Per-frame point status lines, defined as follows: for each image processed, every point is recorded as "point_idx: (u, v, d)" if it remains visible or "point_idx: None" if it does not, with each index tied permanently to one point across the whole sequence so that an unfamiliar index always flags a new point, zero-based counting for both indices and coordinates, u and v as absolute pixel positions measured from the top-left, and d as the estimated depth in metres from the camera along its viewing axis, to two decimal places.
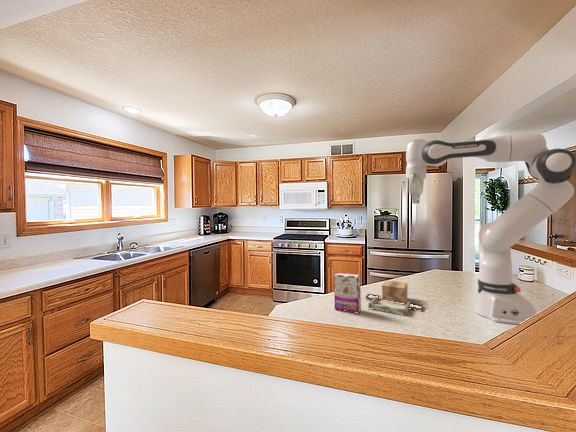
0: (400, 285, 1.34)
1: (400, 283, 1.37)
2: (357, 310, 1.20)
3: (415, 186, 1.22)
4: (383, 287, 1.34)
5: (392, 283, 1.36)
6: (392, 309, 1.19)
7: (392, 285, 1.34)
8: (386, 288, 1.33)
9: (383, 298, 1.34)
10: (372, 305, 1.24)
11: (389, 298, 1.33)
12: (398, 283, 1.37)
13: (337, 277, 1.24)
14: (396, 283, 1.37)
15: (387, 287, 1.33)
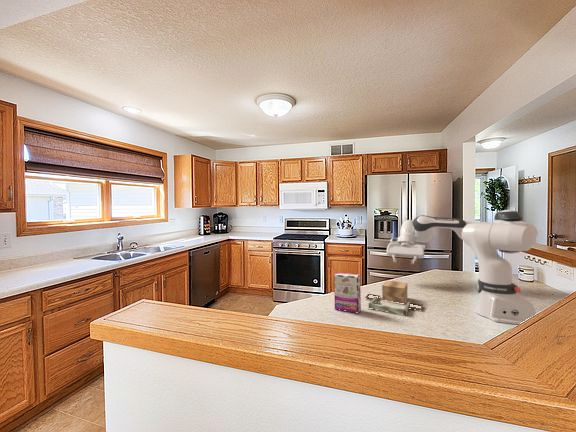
0: (400, 285, 1.34)
1: (400, 283, 1.37)
2: (357, 310, 1.20)
3: None
4: (383, 287, 1.34)
5: (392, 283, 1.36)
6: (392, 309, 1.19)
7: (392, 285, 1.34)
8: (386, 288, 1.33)
9: (383, 298, 1.34)
10: (372, 305, 1.24)
11: (389, 298, 1.33)
12: (398, 283, 1.37)
13: (337, 277, 1.24)
14: (396, 283, 1.37)
15: (387, 287, 1.33)
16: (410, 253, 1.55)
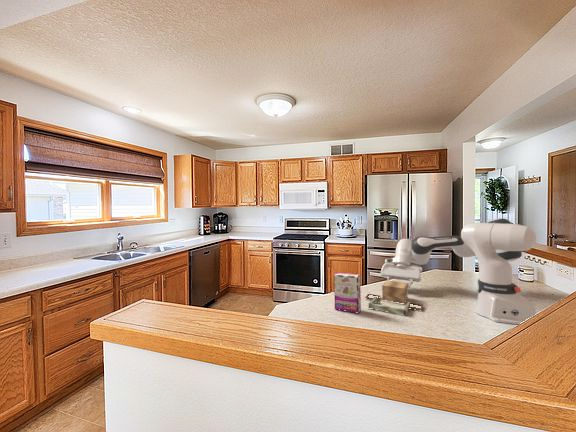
0: (400, 285, 1.34)
1: (400, 283, 1.37)
2: (357, 310, 1.20)
3: None
4: (383, 287, 1.34)
5: (392, 283, 1.36)
6: (392, 309, 1.19)
7: (392, 285, 1.34)
8: (386, 288, 1.33)
9: (383, 298, 1.34)
10: (372, 305, 1.24)
11: (389, 298, 1.33)
12: (398, 283, 1.37)
13: (337, 277, 1.24)
14: (396, 283, 1.37)
15: (387, 287, 1.33)
16: (406, 276, 1.44)
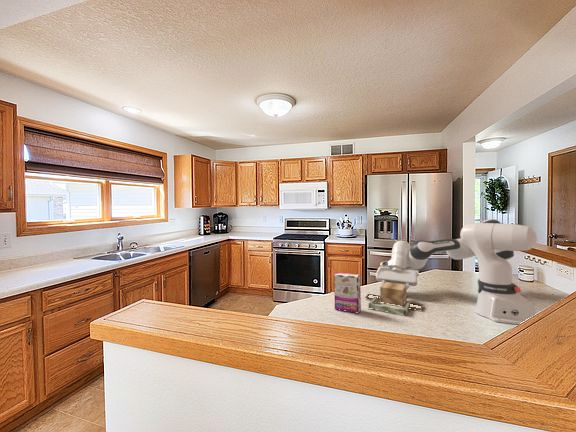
0: (399, 287, 1.31)
1: (399, 285, 1.34)
2: (357, 310, 1.20)
3: None
4: (381, 289, 1.31)
5: (390, 285, 1.33)
6: (392, 309, 1.19)
7: (391, 286, 1.31)
8: (385, 290, 1.30)
9: (381, 300, 1.31)
10: (372, 305, 1.24)
11: (388, 300, 1.30)
12: (396, 284, 1.34)
13: (337, 277, 1.24)
14: (394, 285, 1.34)
15: (385, 289, 1.30)
16: (402, 280, 1.38)
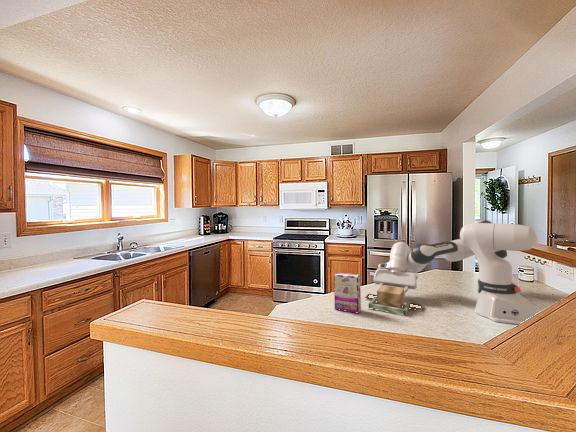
0: (396, 290, 1.25)
1: (396, 288, 1.28)
2: (357, 310, 1.20)
3: (416, 283, 1.32)
4: (378, 293, 1.26)
5: (388, 289, 1.28)
6: (392, 309, 1.19)
7: (388, 290, 1.26)
8: (381, 294, 1.25)
9: (378, 304, 1.26)
10: (372, 305, 1.24)
11: (385, 304, 1.24)
12: (394, 288, 1.29)
13: (337, 277, 1.24)
14: (392, 288, 1.29)
15: (382, 293, 1.25)
16: (400, 283, 1.33)
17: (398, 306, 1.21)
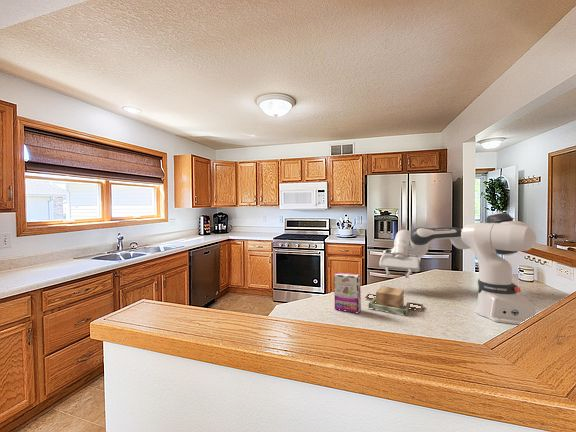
0: (396, 292, 1.24)
1: (396, 289, 1.27)
2: (357, 310, 1.20)
3: None
4: (377, 294, 1.24)
5: (387, 290, 1.27)
6: (392, 309, 1.19)
7: (387, 291, 1.24)
8: (381, 295, 1.24)
9: None
10: (372, 305, 1.24)
11: (384, 305, 1.23)
12: (393, 289, 1.27)
13: (337, 277, 1.24)
14: (391, 289, 1.27)
15: (381, 294, 1.23)
16: (404, 266, 1.44)
17: (397, 307, 1.20)
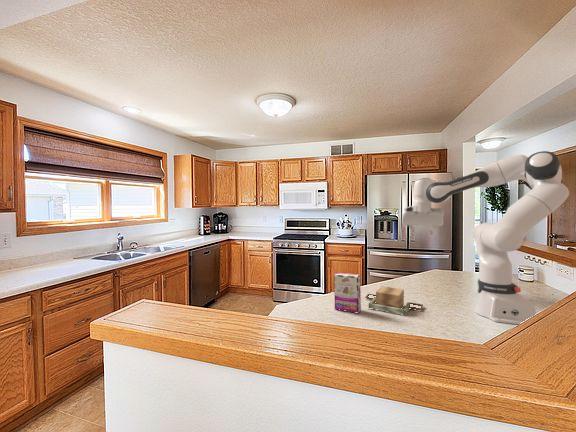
0: (396, 292, 1.24)
1: (396, 290, 1.27)
2: (357, 310, 1.20)
3: None
4: (377, 294, 1.24)
5: (387, 290, 1.27)
6: (392, 309, 1.19)
7: (387, 291, 1.24)
8: (380, 295, 1.24)
9: None
10: (372, 305, 1.24)
11: (384, 305, 1.23)
12: (393, 289, 1.27)
13: (337, 277, 1.24)
14: (391, 289, 1.27)
15: (381, 294, 1.23)
16: (428, 224, 1.44)
17: (397, 307, 1.20)
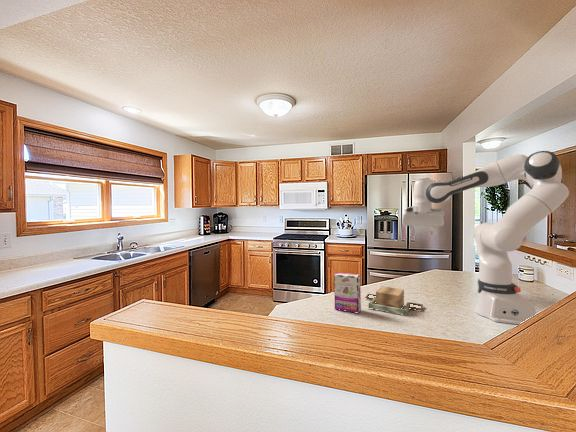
0: (396, 292, 1.24)
1: (396, 290, 1.27)
2: (357, 310, 1.20)
3: (443, 220, 1.43)
4: (377, 294, 1.25)
5: (387, 290, 1.27)
6: (392, 309, 1.19)
7: (387, 291, 1.25)
8: (380, 295, 1.24)
9: None
10: (372, 305, 1.24)
11: (383, 305, 1.23)
12: (393, 289, 1.27)
13: (337, 277, 1.24)
14: (391, 289, 1.27)
15: (381, 294, 1.23)
16: (429, 224, 1.45)
17: (397, 307, 1.20)
